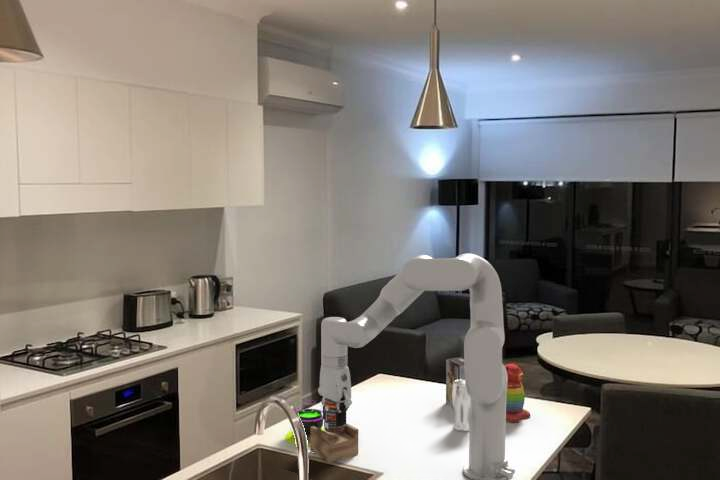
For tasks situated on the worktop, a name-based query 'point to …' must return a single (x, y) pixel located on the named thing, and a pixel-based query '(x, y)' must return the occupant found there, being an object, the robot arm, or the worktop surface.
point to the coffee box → (453, 375)
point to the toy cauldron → (307, 422)
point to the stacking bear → (515, 395)
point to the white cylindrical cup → (461, 406)
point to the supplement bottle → (331, 416)
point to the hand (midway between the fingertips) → (334, 421)
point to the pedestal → (334, 443)
